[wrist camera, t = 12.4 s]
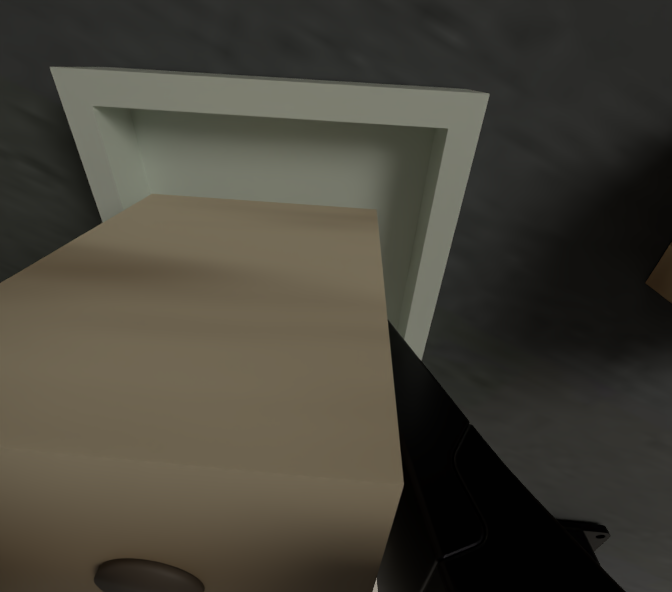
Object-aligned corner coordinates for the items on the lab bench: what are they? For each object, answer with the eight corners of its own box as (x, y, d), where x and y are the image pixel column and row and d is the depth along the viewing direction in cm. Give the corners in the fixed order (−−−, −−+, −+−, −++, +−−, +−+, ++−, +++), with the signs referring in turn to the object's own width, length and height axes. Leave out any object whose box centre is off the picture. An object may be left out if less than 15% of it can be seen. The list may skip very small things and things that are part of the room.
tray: (406, 357, 14) (412, 396, 12) (178, 339, 14) (154, 374, 13) (465, 88, 9) (489, 93, 7) (106, 67, 9) (49, 66, 7)
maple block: (357, 372, 10) (352, 668, 5) (192, 358, 10) (30, 633, 5) (376, 209, 8) (404, 498, 2) (152, 193, 8) (-262, 437, 3)
